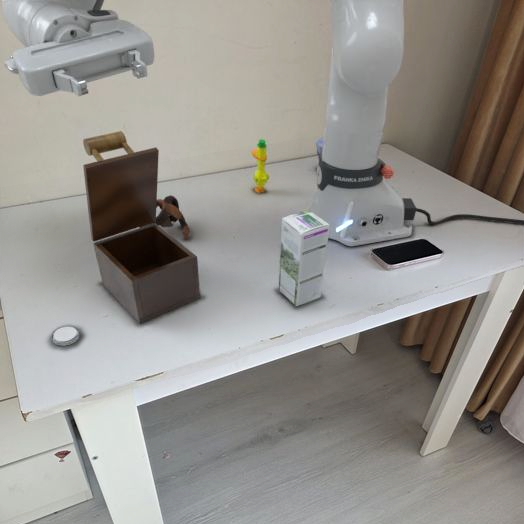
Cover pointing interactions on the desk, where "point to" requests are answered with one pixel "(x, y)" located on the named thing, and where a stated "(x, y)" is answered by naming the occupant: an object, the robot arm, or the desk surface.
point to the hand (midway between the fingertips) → (113, 80)
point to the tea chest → (148, 271)
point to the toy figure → (260, 166)
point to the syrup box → (302, 257)
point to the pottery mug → (170, 215)
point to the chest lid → (119, 186)
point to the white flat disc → (65, 335)
